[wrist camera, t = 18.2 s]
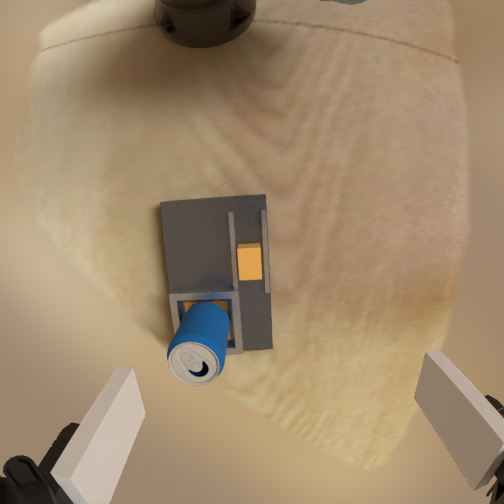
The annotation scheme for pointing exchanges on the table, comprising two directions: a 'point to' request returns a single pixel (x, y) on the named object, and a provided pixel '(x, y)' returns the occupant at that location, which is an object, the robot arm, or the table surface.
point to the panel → (219, 264)
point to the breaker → (249, 261)
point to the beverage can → (199, 344)
